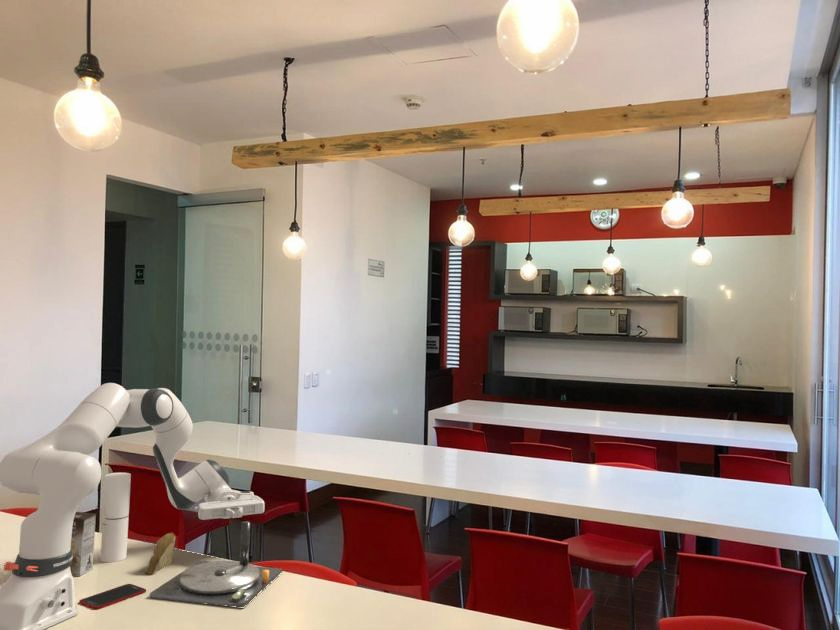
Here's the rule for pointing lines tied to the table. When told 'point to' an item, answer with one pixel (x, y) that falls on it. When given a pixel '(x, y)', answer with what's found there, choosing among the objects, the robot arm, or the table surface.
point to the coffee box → (82, 543)
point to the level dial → (223, 572)
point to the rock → (162, 553)
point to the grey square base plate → (238, 598)
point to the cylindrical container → (115, 517)
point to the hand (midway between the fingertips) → (237, 514)
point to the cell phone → (112, 596)
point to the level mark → (265, 576)
